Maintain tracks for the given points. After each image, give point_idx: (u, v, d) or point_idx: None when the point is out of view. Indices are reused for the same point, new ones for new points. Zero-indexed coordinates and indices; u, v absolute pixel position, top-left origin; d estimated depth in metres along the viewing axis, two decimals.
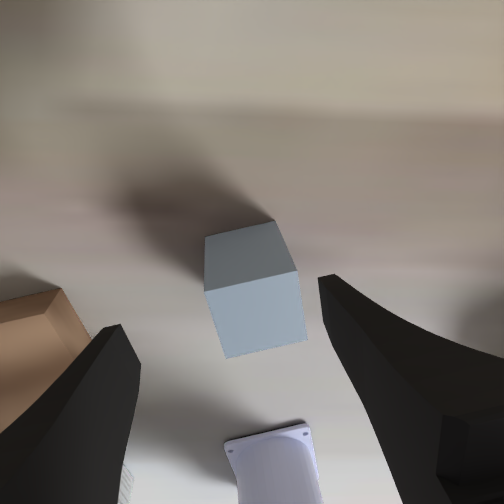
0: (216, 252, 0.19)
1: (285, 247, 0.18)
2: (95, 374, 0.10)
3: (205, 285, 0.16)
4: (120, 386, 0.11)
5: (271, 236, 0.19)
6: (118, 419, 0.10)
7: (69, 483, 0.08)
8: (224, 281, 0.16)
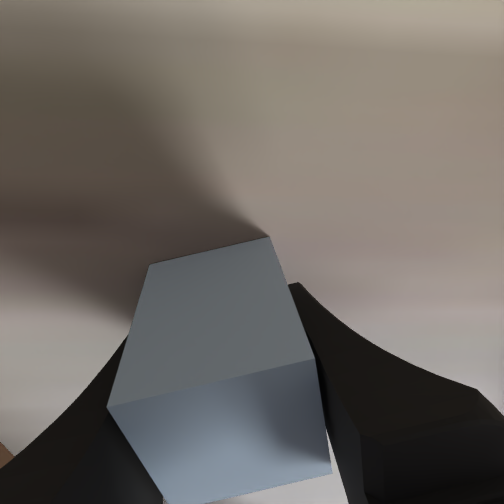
0: (159, 298, 0.10)
1: (287, 293, 0.09)
2: None
3: (114, 388, 0.08)
4: None
5: (261, 268, 0.11)
6: None
7: (125, 470, 0.08)
8: (155, 378, 0.08)
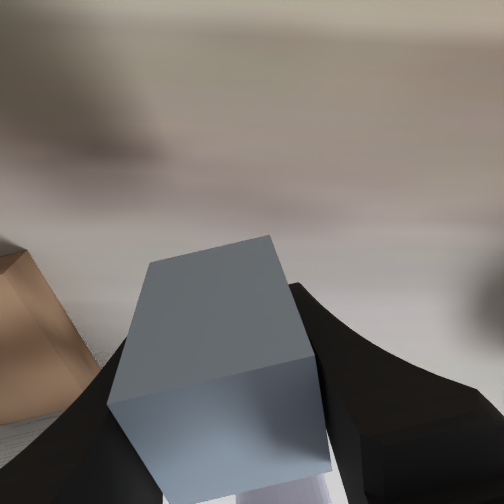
0: (159, 296, 0.10)
1: (287, 291, 0.09)
2: None
3: (115, 385, 0.08)
4: None
5: (261, 266, 0.11)
6: None
7: (124, 470, 0.08)
8: (155, 375, 0.08)
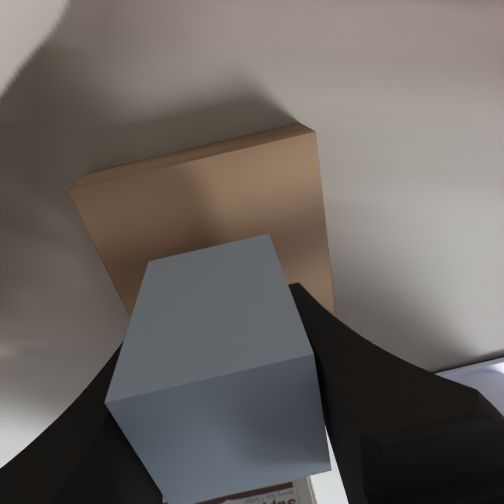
0: (157, 294, 0.10)
1: (286, 290, 0.09)
2: None
3: (113, 383, 0.08)
4: None
5: (260, 265, 0.11)
6: None
7: (125, 470, 0.08)
8: (154, 373, 0.08)
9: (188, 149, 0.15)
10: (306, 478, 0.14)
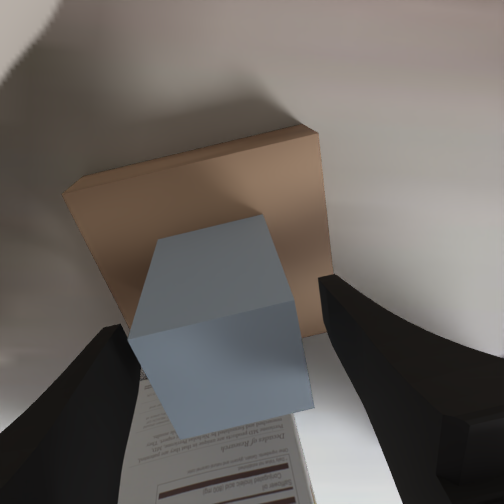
0: (167, 264, 0.12)
1: (275, 256, 0.11)
2: (95, 374, 0.10)
3: (132, 327, 0.09)
4: (120, 386, 0.11)
5: (255, 238, 0.12)
6: (118, 419, 0.10)
7: (69, 483, 0.08)
8: (166, 318, 0.09)
9: (187, 151, 0.15)
10: (309, 493, 0.14)
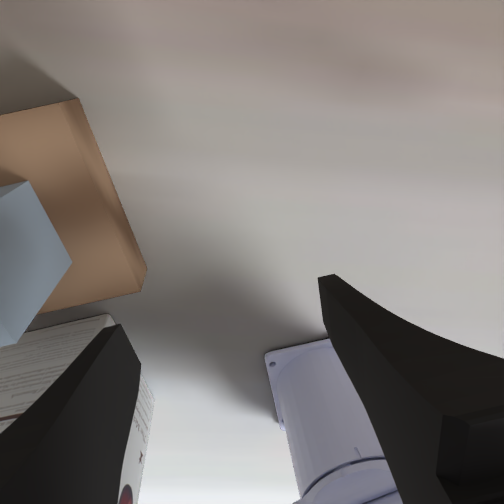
0: None
1: None
2: (95, 374, 0.10)
3: None
4: (120, 386, 0.11)
5: None
6: (118, 419, 0.10)
7: (69, 483, 0.08)
8: None
9: None
10: None
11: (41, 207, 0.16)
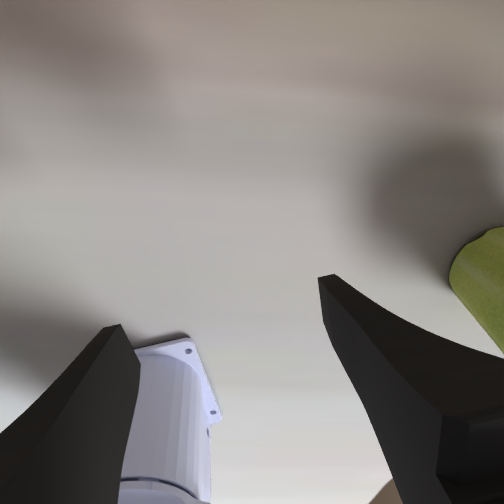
0: None
1: None
2: (95, 374, 0.10)
3: None
4: (120, 386, 0.11)
5: None
6: (118, 419, 0.10)
7: (69, 483, 0.08)
8: None
9: None
10: None
11: None
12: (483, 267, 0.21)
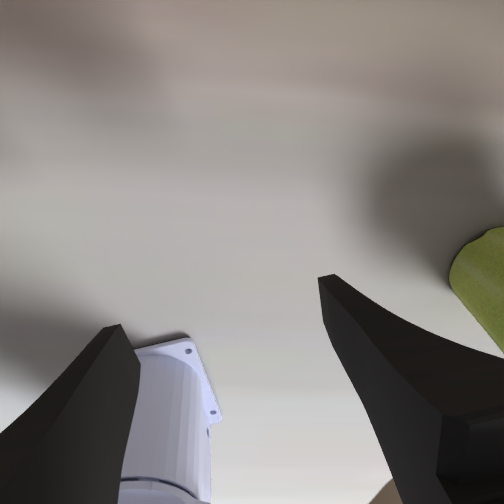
0: None
1: None
2: (95, 374, 0.10)
3: None
4: (120, 386, 0.11)
5: None
6: (118, 419, 0.10)
7: (69, 483, 0.08)
8: None
9: None
10: None
11: None
12: (483, 267, 0.21)
